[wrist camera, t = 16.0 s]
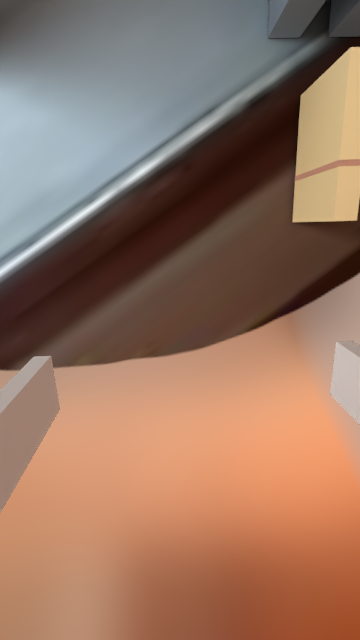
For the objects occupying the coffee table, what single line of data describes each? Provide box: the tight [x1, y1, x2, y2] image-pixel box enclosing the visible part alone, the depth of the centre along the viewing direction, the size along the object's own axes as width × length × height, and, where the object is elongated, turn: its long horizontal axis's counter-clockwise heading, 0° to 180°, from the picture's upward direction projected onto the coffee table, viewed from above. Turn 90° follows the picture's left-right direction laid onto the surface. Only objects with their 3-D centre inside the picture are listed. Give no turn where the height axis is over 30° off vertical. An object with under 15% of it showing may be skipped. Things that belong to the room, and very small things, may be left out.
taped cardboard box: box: [293, 47, 360, 222], centre depth 36 cm, size 15×3×11 cm, turn 2°
